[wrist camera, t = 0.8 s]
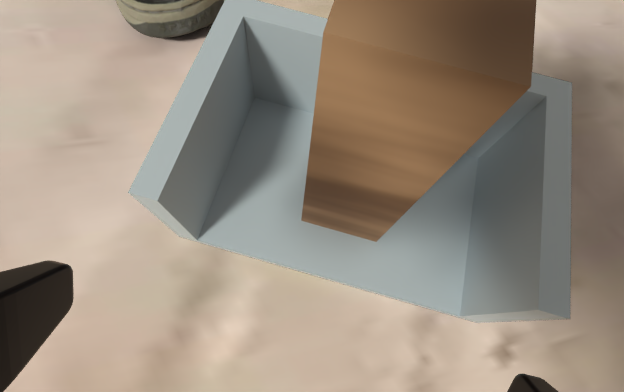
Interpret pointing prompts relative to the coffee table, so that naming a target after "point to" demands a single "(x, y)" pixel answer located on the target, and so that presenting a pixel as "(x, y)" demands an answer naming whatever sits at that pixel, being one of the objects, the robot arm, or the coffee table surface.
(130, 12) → the boot
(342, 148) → the walnut block
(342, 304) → the coffee table surface
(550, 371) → the coffee table surface
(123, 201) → the coffee table surface
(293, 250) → the crate
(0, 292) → the robot arm
